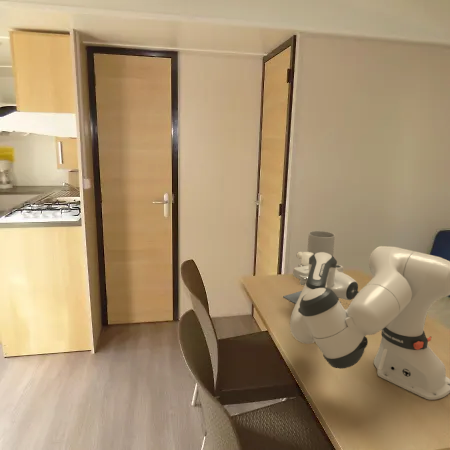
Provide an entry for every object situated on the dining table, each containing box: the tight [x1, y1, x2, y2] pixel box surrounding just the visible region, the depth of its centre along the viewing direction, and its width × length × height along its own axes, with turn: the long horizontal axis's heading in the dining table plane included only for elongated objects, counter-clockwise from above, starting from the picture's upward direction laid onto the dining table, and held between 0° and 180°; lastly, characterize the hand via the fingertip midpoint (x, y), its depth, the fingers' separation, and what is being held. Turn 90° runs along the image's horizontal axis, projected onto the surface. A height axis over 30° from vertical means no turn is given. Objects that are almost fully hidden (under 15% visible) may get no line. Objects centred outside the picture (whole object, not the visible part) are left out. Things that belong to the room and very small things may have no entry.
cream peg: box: [296, 251, 313, 287], centre depth 162 cm, size 8×5×14 cm, turn 23°
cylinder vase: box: [306, 230, 336, 257], centre depth 184 cm, size 12×12×25 cm
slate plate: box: [283, 290, 342, 305], centre depth 165 cm, size 18×18×1 cm
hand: (305, 265), depth 161 cm, fingers closed on cream peg, 5 cm apart
